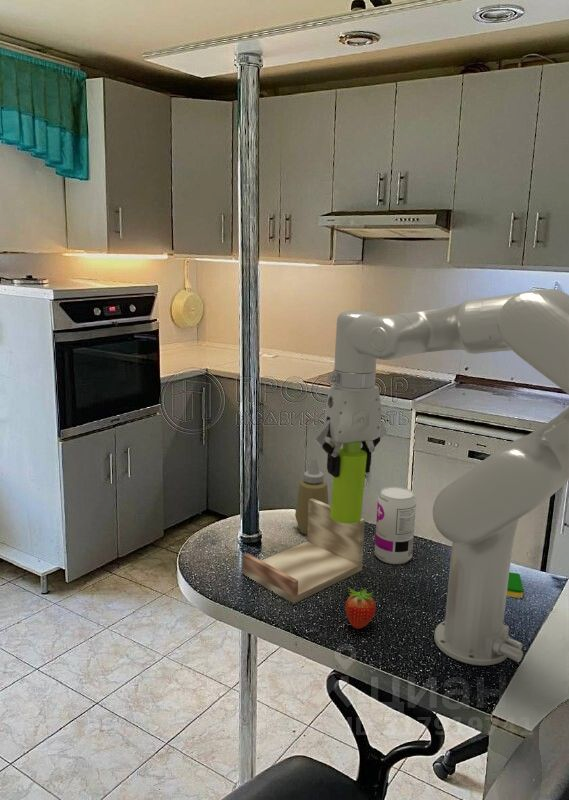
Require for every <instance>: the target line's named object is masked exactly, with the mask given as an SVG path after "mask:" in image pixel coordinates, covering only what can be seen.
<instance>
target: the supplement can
mask: <svg viewBox="0 0 569 800" xmlns="http://www.w3.org/2000/svg"><path fill="white" fill-rule="evenodd" d="M376 506H377V507H376V521H375V523H376V524H375V536H374V537H375V538H374V539H375V540H374V556H376V557H377V558H378V560H380V561H382V562H383V563H386V564H391V565H401V564H406V563H408V561H410V560H411V559H412V558H413V552H414V551H413V548H414V536H415V522H416V513H417V511H416V510H417V499H416V497H415V494H414V492H413V491H412V490H410V489H408V488H405V487H402V486H386V487H384V488H382V489H381V490H380V493H379V494H378V496H377V505H376Z"/></svg>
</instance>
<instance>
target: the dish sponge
mask: <svg viewBox="0 0 569 800" xmlns="http://www.w3.org/2000/svg"><path fill="white" fill-rule="evenodd" d="M523 595H524V587H523V582H522V578H521V574H520V573H516V572H510V571H509V578H508V587H507V596H512V597H522V598H523Z"/></svg>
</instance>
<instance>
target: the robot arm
mask: <svg viewBox="0 0 569 800" xmlns="http://www.w3.org/2000/svg"><path fill="white" fill-rule="evenodd" d="M334 349H335V350H334V367H333V368H334V369H333V373H332V374H328V377H327V381H328V382H329V383H332V384H333V385H330V388H329V391H328V394H327V399H326V404H325V411H324V418H323V419H324V420H323V425H322V426H321V427H320V428H319V429H318V430H317V432H315V434H314V435H313V437H312V439H313V440H314V442H316V443H317V444H318V445H319V446H320V447H321V449H322V450H324V452H325V453H326V454H327V458H326V459H327V460H326V470H327V473H328V474H330V475H331V476H332V477H333V476H334V477H339V473H340V457H339V456H338V453H339V450H340V448H342V446H343V444H345V443H354V442H361V450H363V451H365V452H366V453H367V459H366V470H365V474H368V473H370V469H371V466H372V453H373V452H375V448H376V447H377V445H379V443H380V441H381V439H383V437H384V436H385V435H386V434H387V432H388V429H387V428H386V427H385V426H384V425H383V423H382V406H381V405H382V404H381V396H380V389H379V388H380V387H379V386H377V385H376V375H377V374H376V372H377V371H376V369H377V359H378V360H383V361H391V360H395V359H396V360H397V359H400V358H403V357H409V356H413V355H417V354H425V353H433V352H434V353H435V352H443V351H459V350H460V351H461V350H462V351H465V352H466V353H467V354H473V355H477V354H486V353H497V352H508V351H512V352H513V353H515V354H516V355H517V356H518V357H519V358H520V359H522V360H523V361H525V362H526V364H528V365H530V366H531V367H533V369H535V370H536V371H537V372H539V373H540V374H542V376H543V377H545V378H546V379H548V380H549V381H551V383H553V384H554V385H555V386H557V387H559V388H560V389H561V390H562V391H564V392H565V393H566V394H567V395H569V294H567V293H566V292H565V291H562V290H559V289H553V288H543V289H536V290H528V291H523V292H518V293H509V294H504V295H496V296H489V297H482V298H475V299H469V300H464V301H463V302H460V304H457V305H454V306H453V305H452V306H448V307H440V308H434V309H426V310H418V311H409V312H402V313H394V314H388V315H379V316H378V315H377V314H376V313H374V312H371V311H368V310H367V311H366V310H345V311H342V312H340V313H339V314H338V316H337V318H336V331H335V348H334ZM325 438H328V441H327V440H326V439H325ZM567 482H569V407H567V408H566V409H563V411H561V412H560V413H559V414H557V416H555V417H554V418H552V419H551V420H550V421H548V422H546V423H545V424H543V425H542V426H541V427H539V428H537V429H536V430H533V431H532V432H530V433H529V434H527V435H525V436H521V437H520V438H518V439H516V440H514V441H512V442H510V443H508V444H507V445H504V446H503V447H501V448H500V449H498V450H496V451H495V452H494V453H491V454H490V455H489V456H488V457H486V458H484V459H483V460H482V461H480V462H479V463H477V464H476V465H475V466H473V467H471V469H469V470H468V471H466V472H465V473H463V474H462V475H461V476H459V477H458V478H457V479H454V481H452V482H451V483H449V484H448V485H447V486H445V487H443V488H442V489H441V490H440V491H439V492H438V494H437V496H436V497H435V500H434V501H433V506H432V519H433V522H434V525H435V528H436V529H437V531H438V532H439V533H440V535H442V537H444V538H445V539H446V540H448V541H449V542H452V544H451V551H450V552H451V554H450V562H449V575H448V584H447V595H446V604H445V605H446V606H445V616H444V620H443V621H441V622H440V623H439V624H437V626H436V627H435V629H434V634H433V635H434V636H433V637H434V642H435V644H436V646H437V647H438V649H440V651H441V652H442V653H444V654H445V655H446V656H448V657H450V658H452V659H454V660H456V661H458V662H461V663H464V664H468V665H473V666H492V665H496V664H500V663H502V662H503V661H505V660H506V659H510V660H513V661H515V662H517V663H519V662H521V660H522V658H523V656H524V651H523V650H522V649H523V645H524V644H523V643H522V642H521V641H518V640H516V639H513V638H512V637H511V636H510V635H509V631H510V629H509V628H510V626H509V625H506V624H504V623H505V621H504V619H505V612H506V603H507V597H506V596H507V587H508V578H509V572H510V569H511V561H512V554H513V553H512V552H513V547H514V540H515V535H516V531H517V527H518V523H519V519H521V518H522V517H524V516H526V515H527V514H529V513H531V512H532V511H533V510H536V508H538V507H540V506H541V505H542V504H544V502H546V501H547V500H549V498H551V497H552V496H553V495H555V494H556V492H558V491H559V490H560V489H561V488H562V487H563V486H564V485H566V483H567Z"/></svg>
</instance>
